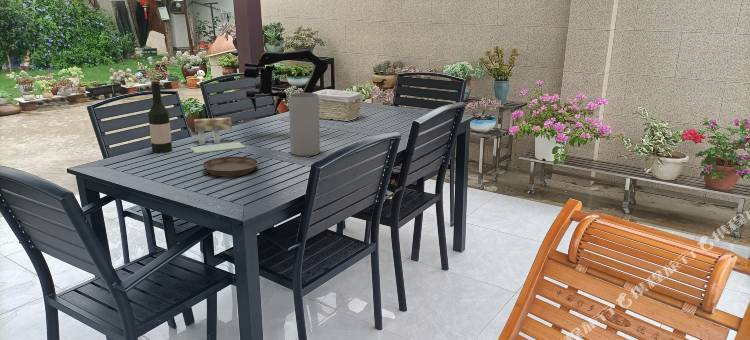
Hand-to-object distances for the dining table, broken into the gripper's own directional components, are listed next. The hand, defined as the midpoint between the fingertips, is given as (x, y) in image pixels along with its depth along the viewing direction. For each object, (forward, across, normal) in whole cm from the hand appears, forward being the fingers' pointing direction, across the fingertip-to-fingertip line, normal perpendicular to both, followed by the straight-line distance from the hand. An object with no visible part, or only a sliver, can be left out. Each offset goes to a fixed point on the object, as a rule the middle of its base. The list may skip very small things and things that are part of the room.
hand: (265, 112), depth 264 cm
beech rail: (+8, +24, +2) cm, 25 cm away
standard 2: (+14, +22, +2) cm, 26 cm away
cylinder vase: (+11, -12, +34) cm, 38 cm away
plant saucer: (+14, +20, +51) cm, 56 cm away
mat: (+14, +23, +15) cm, 31 cm away
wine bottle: (+16, +46, +13) cm, 50 cm away
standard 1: (+14, +29, +2) cm, 32 cm away
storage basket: (+9, -46, -33) cm, 57 cm away
